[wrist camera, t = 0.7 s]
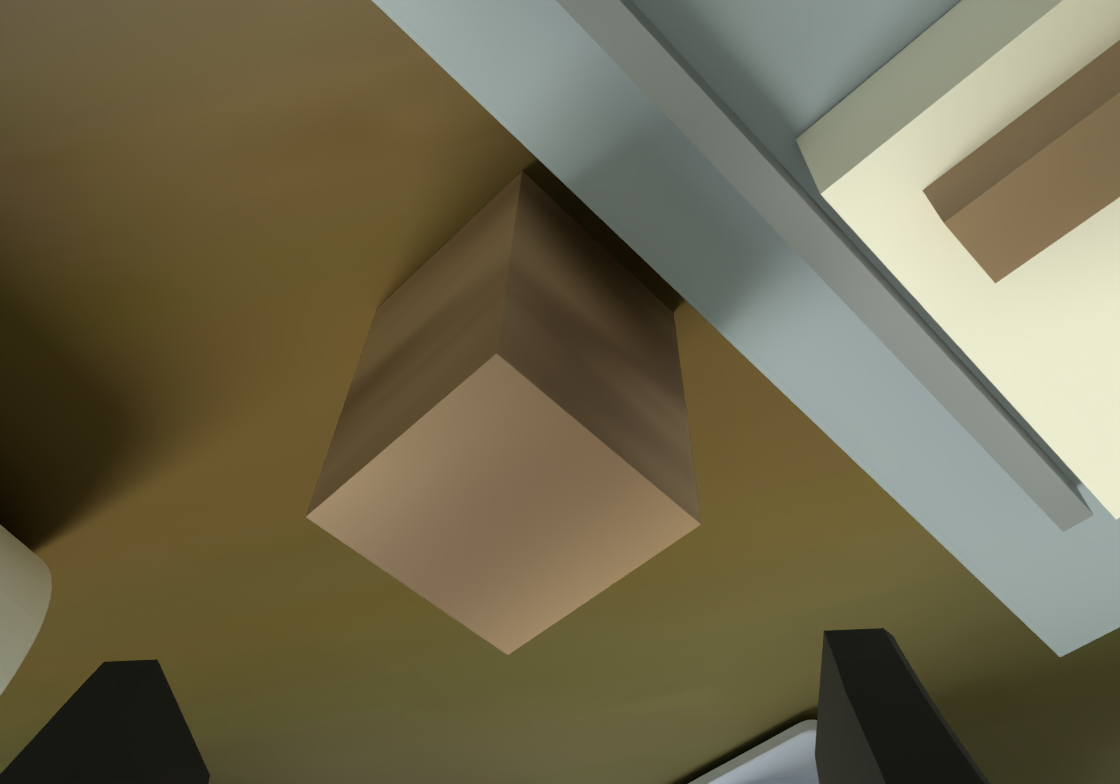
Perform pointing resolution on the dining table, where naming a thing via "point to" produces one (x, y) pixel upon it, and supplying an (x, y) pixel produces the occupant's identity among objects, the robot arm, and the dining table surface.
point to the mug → (20, 602)
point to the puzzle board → (787, 251)
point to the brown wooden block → (513, 425)
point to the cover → (1001, 204)
